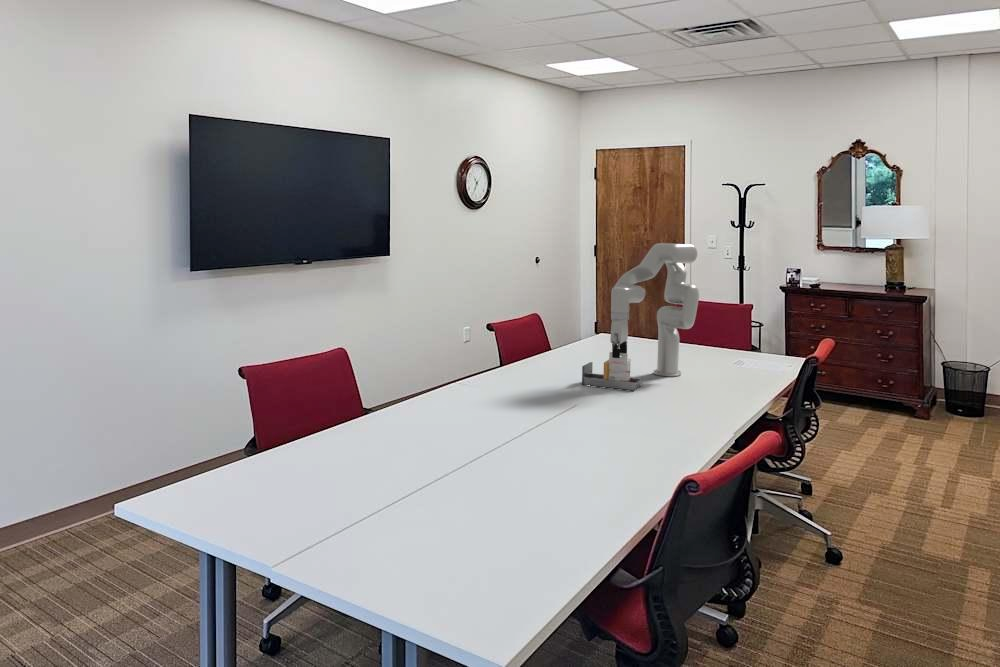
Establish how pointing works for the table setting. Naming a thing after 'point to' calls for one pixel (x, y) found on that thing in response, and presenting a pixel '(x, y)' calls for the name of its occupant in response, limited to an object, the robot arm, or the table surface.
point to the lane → (598, 380)
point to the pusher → (606, 370)
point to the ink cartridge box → (619, 368)
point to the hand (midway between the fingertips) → (619, 355)
